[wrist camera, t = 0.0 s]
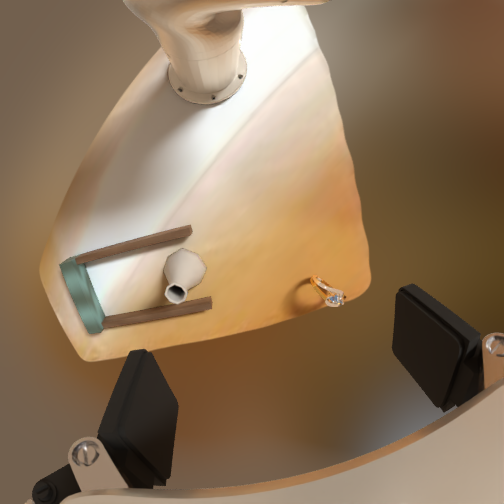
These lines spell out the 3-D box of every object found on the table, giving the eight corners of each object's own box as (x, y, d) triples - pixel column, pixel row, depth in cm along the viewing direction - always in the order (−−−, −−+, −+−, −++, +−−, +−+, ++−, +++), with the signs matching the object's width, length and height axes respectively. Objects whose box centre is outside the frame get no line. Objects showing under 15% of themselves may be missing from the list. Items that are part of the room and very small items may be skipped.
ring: (338, 284, 50) (356, 303, 43) (327, 296, 51) (343, 317, 43) (313, 263, 48) (328, 281, 41) (301, 277, 49) (315, 296, 41)
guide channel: (69, 257, 44) (59, 264, 40) (190, 224, 44) (187, 229, 41) (96, 323, 48) (89, 334, 44) (212, 302, 49) (211, 313, 45)
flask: (214, 266, 47) (212, 292, 37) (188, 295, 48) (181, 325, 39) (181, 239, 45) (170, 258, 36) (156, 270, 46) (141, 295, 37)
